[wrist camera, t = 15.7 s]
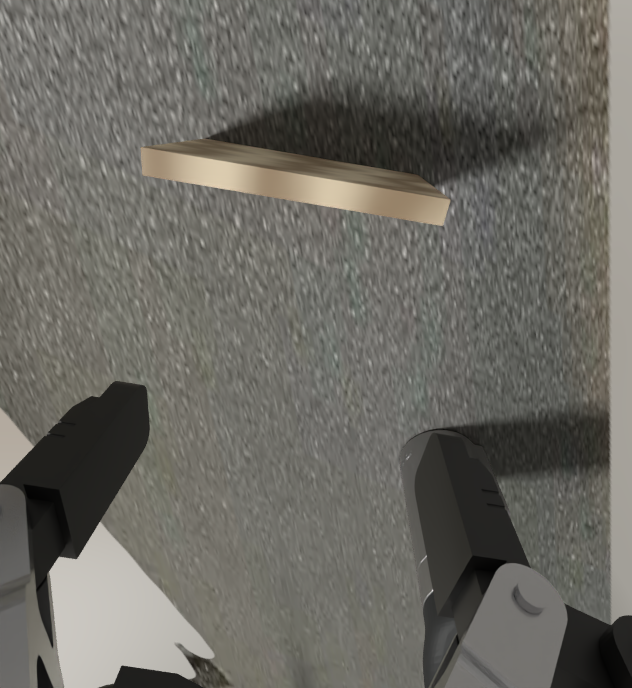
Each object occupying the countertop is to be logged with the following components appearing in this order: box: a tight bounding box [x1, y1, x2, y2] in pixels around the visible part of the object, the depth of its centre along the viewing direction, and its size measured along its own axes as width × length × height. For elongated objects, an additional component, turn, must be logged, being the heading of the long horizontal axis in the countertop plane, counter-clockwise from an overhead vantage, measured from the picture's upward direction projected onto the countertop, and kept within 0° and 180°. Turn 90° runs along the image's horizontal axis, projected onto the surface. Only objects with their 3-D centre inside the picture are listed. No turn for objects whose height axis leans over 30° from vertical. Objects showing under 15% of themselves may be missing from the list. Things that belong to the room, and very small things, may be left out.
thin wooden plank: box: [141, 139, 450, 226], centre depth 28 cm, size 18×2×12 cm, turn 81°
